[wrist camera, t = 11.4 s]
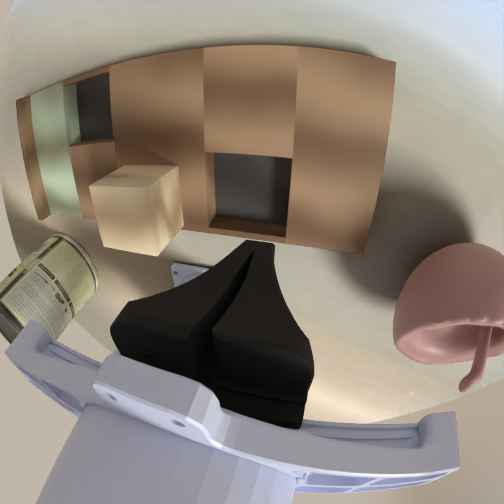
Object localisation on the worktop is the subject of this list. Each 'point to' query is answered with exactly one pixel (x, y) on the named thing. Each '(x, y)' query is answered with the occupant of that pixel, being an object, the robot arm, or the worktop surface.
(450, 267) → the pink mushroom
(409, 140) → the worktop surface
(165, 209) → the block
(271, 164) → the board
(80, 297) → the coffee can
